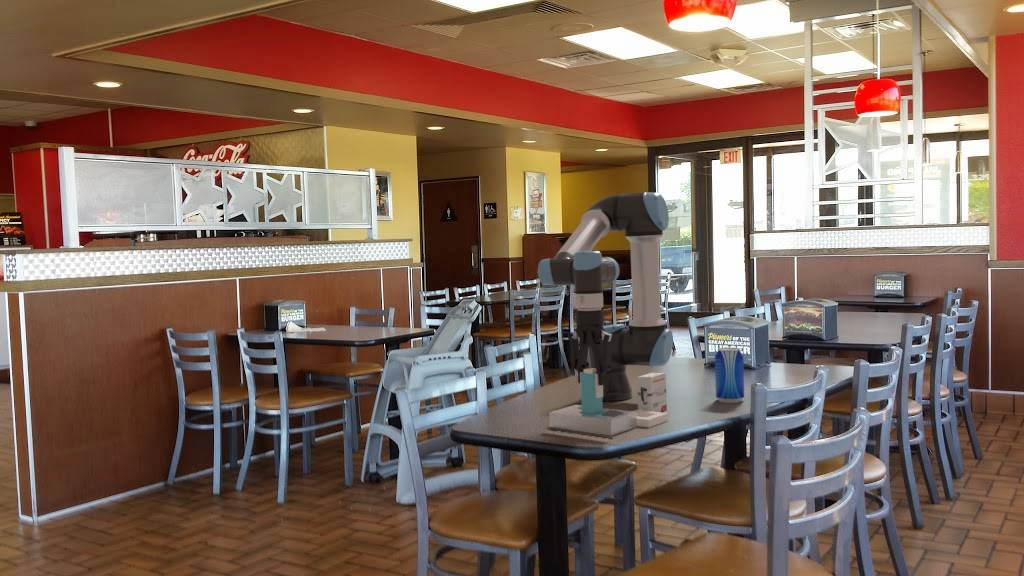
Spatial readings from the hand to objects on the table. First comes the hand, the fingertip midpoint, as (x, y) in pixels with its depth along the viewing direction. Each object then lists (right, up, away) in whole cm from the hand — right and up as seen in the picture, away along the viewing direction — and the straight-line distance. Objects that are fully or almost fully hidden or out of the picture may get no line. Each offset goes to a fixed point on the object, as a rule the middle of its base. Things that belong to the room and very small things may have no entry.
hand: (591, 396), depth 232 cm
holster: (+14, -8, +4) cm, 17 cm away
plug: (0, -6, 0) cm, 6 cm away
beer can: (+46, -6, +34) cm, 57 cm away
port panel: (0, -9, +1) cm, 9 cm away
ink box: (+19, -8, +18) cm, 27 cm away
